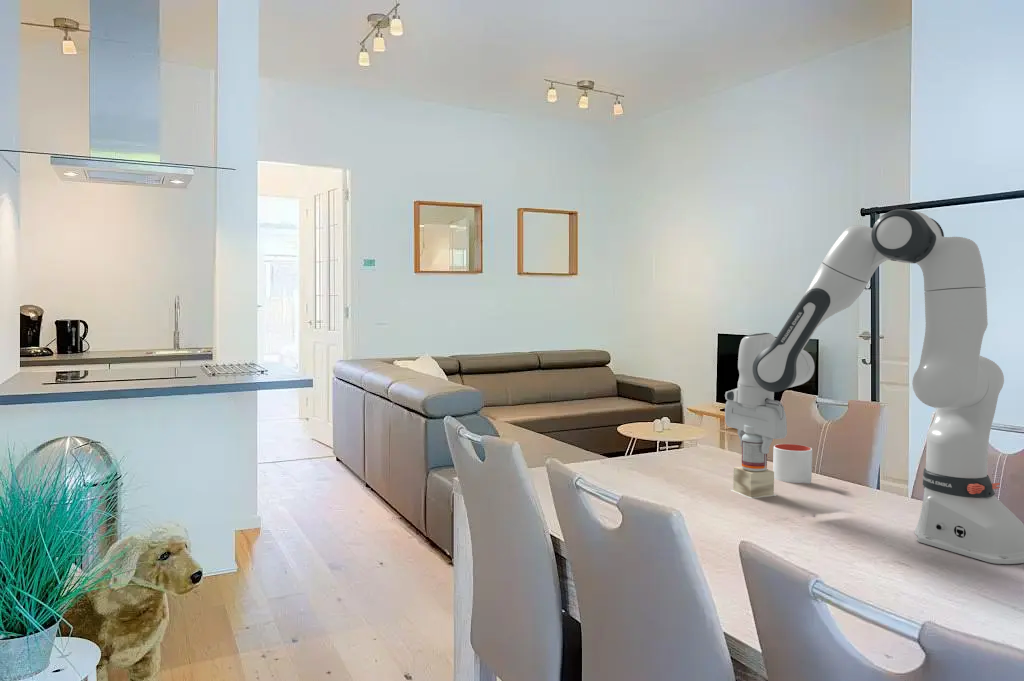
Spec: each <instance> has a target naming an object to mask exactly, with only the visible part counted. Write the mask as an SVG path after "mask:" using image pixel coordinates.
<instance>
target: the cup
mask: <svg viewBox="0 0 1024 681" xmlns="http://www.w3.org/2000/svg"><path fill="white" fill-rule="evenodd" d="M772 451H773V455H772V456H773V457H772V458H773V459H772V460H773V461H772V471H774V480H776V481H779V482H785V483H791V484H792V483H794V484H807V485H810V484H811V483H812V478H813V475H812V473H813V448H812V447H810V446H806V445H802V444H795V443H794V444H793V443H778V444H775V445H774V446H773V450H772Z"/></svg>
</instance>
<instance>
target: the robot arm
mask: <svg viewBox="0 0 1024 681" xmlns="http://www.w3.org/2000/svg"><path fill="white" fill-rule="evenodd" d="M978 246H979V245H978V244H977V243H976V242H975V241H974V240H972V239H969V238H966V237H963V236H945V233H944V230H943V228H942V226H941V225H940V224H939V222H938V221H936V220H934V219H933V218H931V217H929V216H928V215H927V214H925V213H923V212H920V211H916V210H912V209H908V208H898V209H893V210H890V211H888V212H885V213H884V214H882V215H881V216H880V217H878V218H877V220H875V223H874V224H873V225H872V227H870V226H867V225H861V224H858V225H850V226H848V227H846V228H845V229H844V230H843V231H842V233H840V235H839V236H838V237H837V239H836V240H835V241H834V243H833V244H832V245H831V247H830V248H829V250H828V252H827V253H826V255H825V256H824V258H823V260H822V261H821V263H820V265H819V266H818V268H817V270H816V272H815V273H814V276H813V278H812V280H811V282H810V284H809V286H808V287H807V289H806V290H805V292H804V294H803V295H802V297H801V299H800V300H799V302H798V303H797V305H796V307H795V308H794V310H793V311H792V313H791V314H790V315H789V317H788V319H787V320H786V321H785V323H784V325H783V327H782V328H781V330H780V331H779V333H778V334H777V336H774V334H772V333H769V332H761V333H753V334H752V333H751V334H747V335H745V336H743V338H742V339H741V340H740V344H739V348H738V355H737V356H738V357H737V359H738V360H737V370H738V374H739V376H738V381H737V387H736V388H733V389H731V390H728V391H725V394H724V397H725V400H726V402H725V404H724V406H725V407H724V421H725V424H726V426H727V428H728V427H729V428H732V429H736V430H737V435H738V438H739V440H740V442H739V443H740V447H741V448H742V436H743V435H744V434H746V432H744V425H747V426H752V427H754V433H755V434H758V435H761V436H762V440H764V441H763V444H762V446H760V450H759V451H760V453H763V454H767V455H768V454H769V453H770V446H771V444H772V442H773V440H780V439H785V438H786V437H787V435H788V423H787V414H786V411H785V406H784V405H783V404H782V402H781V401H779V400H775V398H774V397H775V393H779V392H782V391H785V390H788V389H789V388H793V387H794V388H795V387H797V386H801V385H804V384H805V383H808V382H809V381H810V380H811V379H812V377H813V376H814V374H815V370H816V369H815V368H816V363H815V360H814V358H813V356H812V355H811V354H810V353H809V352H808V351H807V350H805V349H804V348H805V347H806V346H807V344H808V342H809V341H810V339H811V338H812V336H813V334H814V333H815V331H816V330H817V329H818V327H820V325H821V324H823V322H824V321H826V320H827V319H829V318H830V317H832V316H834V315H835V314H837V313H839V312H842V311H844V310H846V309H849V308H850V307H851V306H852V305H853V304H854V303H855V302H856V301H857V299H859V297H860V296H861V294H863V292H864V291H865V289H866V287H867V285H868V284H869V282H870V281H871V278H872V277H873V275H874V273H875V272H876V271H877V269H878V268H879V266H881V264H882V263H884V262H886V261H894V262H899V263H906V264H907V263H908V264H916V265H918V266H919V267H920V269H921V271H922V274H923V275H922V276H923V292H924V314H925V316H924V317H925V329H924V336H923V337H924V338H923V343H922V344H923V345H922V350H921V354H920V359H919V360H920V361H919V364H918V368H917V370H915V373H914V375H913V376H912V377H913V378H912V390H913V392H914V395H915V396H916V398H918V400H919V401H920V402H921V403H923V404H924V405H926V406H928V407H931V408H934V409H936V410H935V414H934V417H933V420H932V422H931V425H930V427H929V428H928V431H927V433H926V450H925V452H926V454H925V455H926V456H925V468H923V473H922V474H923V475H922V486H923V489H924V490H923V497H922V505H921V510H920V514H919V517H918V521H917V524H916V527H915V530H914V534H915V535H916V536H917V538H916V541H917V542H919V543H921V544H925V545H928V546H931V547H936V548H938V549H942V550H945V551H949V552H952V553H955V554H959V555H962V556H965V557H969V558H972V559H976V560H979V561H983V562H986V563H991V564H995V565H996V564H998V565H1016V564H1024V523H1023V522H1022V521H1021V520H1020V518H1018V516H1016V515H1015V514H1014V513H1013V512H1012V511H1011V510H1009V508H1008V507H1006V506H1005V504H1004V503H1002V501H1000V499H998V498H997V497H996V496H995V494H996V492H995V489H1001V487H1000V486H999V485H1000V484H1001V483H1000V482H995V483H994V482H993V483H992V480H991V478H990V476H989V475H988V462H989V460H988V458H989V457H988V456H989V442H990V434H991V430H992V424H993V422H994V421H993V420H994V418H995V414H996V410H997V404H998V400H999V399H998V398H999V395H1000V393H1001V391H1002V389H1003V386H1004V383H1005V376H1004V373H1003V371H1002V368H1001V367H1000V366H999V365H998V364H997V363H996V362H995V361H993V360H991V359H990V358H987V357H985V356H982V355H981V350H982V345H983V344H982V343H983V338H984V336H985V333H986V331H987V328H988V325H989V323H988V306H987V305H988V304H987V302H988V301H987V288H986V287H987V286H986V285H987V284H986V276H985V275H986V274H985V268H984V264H983V259H982V256H981V251H980V248H979V247H978Z"/></svg>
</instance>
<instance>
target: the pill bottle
mask: <svg viewBox="0 0 1024 681" xmlns="http://www.w3.org/2000/svg"><path fill="white" fill-rule="evenodd" d="M744 432H746V434H744V435H743V436H742V447H741V467H742V468H743V469H745V470H748V471H765V470H766V469H767V468H768V454H763V453H760V451H759V450H760V446H762V444H763V441H764V440H762V436H761V435H758V434H755V433H754V427H752V426H747V425H744Z"/></svg>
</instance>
